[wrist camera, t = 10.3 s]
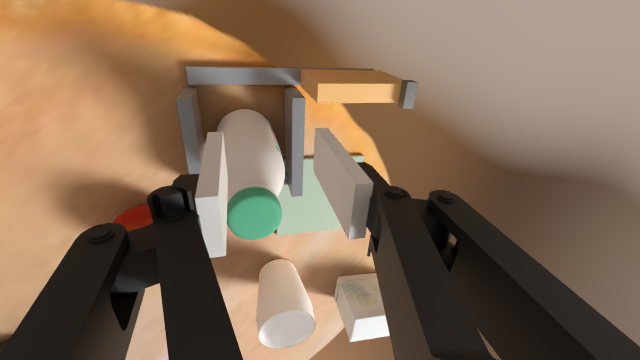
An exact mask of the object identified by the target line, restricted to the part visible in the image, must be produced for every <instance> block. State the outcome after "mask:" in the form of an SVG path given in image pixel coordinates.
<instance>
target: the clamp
mask: <svg viewBox="0 0 640 360" xmlns="http://www.w3.org/2000/svg"><path fill="white" fill-rule="evenodd" d="M301 69H317V70H374V69H350V68H349V69H348V68H289V67H288V68H287V67H232V66H186V73H187V80H188V85H300V83H301ZM176 104H177V110H178V115H179V121H180V127H181V132H182V138H183V143H184V149H185V155H186V160H187V166H188V171H189V174H200V169H201V164H202V159H203V154H204V149H205V144H204V137H203V130H202V123H201V116H200V109H199V102H198V95H197V88H196V87H183V89H182V90H181V92H180V93H179V95H178V96H177V98H176ZM304 124H305V97H304V96H303V95H302V94H301V93H300V91H299V90H298V89H297V88H296V87H285V160H286V170H285V179H284V184H283V185H288V187H289V190H290V193H291V196H292V197H298V196H302V194H303V159H304Z"/></svg>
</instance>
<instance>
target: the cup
mask: <svg viewBox="0 0 640 360" xmlns="http://www.w3.org/2000/svg"><path fill="white" fill-rule="evenodd" d="M256 322H257V327H258V334H259V339H260V341H261V342H262V343H263V344H264V345H265V346H267V347H270V348H276V349H281V348H288V347H292V346H295V345H297V344H299V343H301V342H303V341H304V340H306V339H307V338H308V337H309V336H310V335H311V334H312V333H313V331H314V329H315V319H314V314H313V308H312V304H311V301H310V299H309V297H308V295H307V292H306V290H305V288H304V286H303V284H302V282H301V279H300V277H299V275H298V273H297V271H296V268H295V266H294V265H293V263H291V262H290V261H288V260H284V259H277V260H273V261H270V262H268V263H267V264H265V265H264V266H263V267H262V269H261V270H260V274H259V286H258V299H257V311H256Z"/></svg>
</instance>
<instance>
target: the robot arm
mask: <svg viewBox="0 0 640 360" xmlns="http://www.w3.org/2000/svg"><path fill="white" fill-rule="evenodd" d="M313 172H314V173H315V175H316V177H317V179H318V181H319V183H320V185H321V187H322V189H323V191H324V193H325V195H326V197H327V199H328V201H329V203H330V205H331V207H332V208H333V210H334V212H335V214H336V216H337V218H338V220H339V222H340V224H341V226H342V228H343V230H344V232H345V234H346V236H347V238H348V240H350V239H357V238H365V234H366V227H367V228H368V229H369V231H370V232H371V236H370V241H369V247H368V254H367V256H370V253H371V252H372V256H373V261H374V265H375V270H376V274H377V279H378V284H379V288H380V293H381V297H382V302H383V307H384V311H385V316H386V320H387V325H388V330H389V334H390V339H391V344H392V348H393V353H394V357H395V360H496V359H494V358H493V357H492V356H491V354H490V353H489V351H488V349H487V347H486V345H485V344H484V341H483V340H482V337H481V336H480V333H479V331H480V332H481V333H482V335H483V336H484V337H485V339H486V340H487V341H488V343H489V344H490V345H491V347H492V348H493V349H494V350H495V352H496V353H497V355H498V356H499V357H500V358H501V360H640V347H639V346H638V345H637V344H636V343H635V342H633V341H632V340H631V339H629V337H627V336H626V335H625V334H624V333H622V332H621V331H620V330H619V329H618V328H616V327H615V326H614V325H613V324H612V323H610V322H609V321H608V320H607V319H606V318H605V317H603V316H602V315H601V314H600V313H598V312H597V311H596V310H595V309H594V308H592V307H591V306H590V305H589V304H588V303H586V302H585V301H584V300H583V299H582V298H580V297H579V296H578V295H577V294H576V293H574V292H573V291H572V290H571V289H569V288H568V287H567V286H566V285H565V284H564V283H562V282H561V281H560V280H559V279H558V278H556V277H555V276H554V275H553V274H552V273H550V272H549V271H548V270H547V269H546V268H544V267H543V266H542V265H541V264H540V263H538V262H537V261H536V260H535V259H533V258H532V257H531V256H530V255H529V254H527V253H526V252H525V251H524V250H522V249H521V248H520V247H519V246H518V245H516V244H515V243H514V242H513V241H511V239H509V238H508V237H507V236H506V235H505V234H503V233H502V232H501V231H500V230H499V229H497V228H496V227H495V226H494V225H493V224H491V223H490V222H489V221H488V220H487V219H485V218H484V217H483V216H482V215H481V214H479V213H478V212H477V211H476V210H475V209H473V208H472V207H471V206H470V205H468V204H467V203H466V202H465V201H463V200H462V199H461V198H460V197H459V196H457V195H455V194H453V193H451V192H449V191H445V190H435V191H432V192H431V193H429V197H428V200H422V199H413V198H411V196H410V194H409V193H408V192H407V191H405V190H404V189H402V188H399V187H394V186H390V185H389V184H388V183H387V182H386V181H385V180H384V179H383V178H382V177H381V176H380V174H379V173H378V172H376V170H375V169H374V168H373V167H372V166H371V165H369V164H367V163H365V162H356V161H355V160H354V159H353V158H352V156H351V155H350V154H349V153H348V152H347V150H346V149H345V148H344V147H343V146H342V144H341V143H340V142H339V141H338V140H337V138H336V137H335V136H334V135H333V134H332V132H331V131H330V130H329V129H328V128H315V143H314V164H313ZM227 193H228V174H227V164H226V155H225V146H224V137H223V132H208V134H207V139H206V144H205V149H204V154H203V159H202V164H201V169H200V174H186V175H180V176H179V177H178V178H176V179H175V180H174V181H173V184H172V185H171V186H165V187H162V188H159V189H157V190H155V191H153V192H152V193H150V194H149V195H148V198H147V201H148V205H149V208H150V212H151V216H152V220H153V223H151V224H149V225H147V226H145V227H142V228H139V229H135V230H131V231H128V232H127V230H126V228H125V227H124V226H123V225H121V224H118V223H106V224H100V225H97V226H94V227H92V228H89V229H88V230H86V231H84V232H83V233H81V234H80V235H79V236H78V237H77V238H76V240H75V241H74V243H73V244H72V246H71V247H70V249H69V250H68V252H67V253H66V255H65V256H64V258H63V259H62V261H61V262H60V264H59V265H58V267H57V268H56V270H55V271H54V273H53V274H52V276H51V278H50V279H49V281H48V282H47V284H46V285H45V287H44V288H43V290H42V291H41V293H40V294H39V296H38V297H37V299H36V300H35V302H34V303H33V305H32V306H31V308H30V309H29V311H28V312H27V314H26V315H25V317H24V318H23V320H22V322H21V323H20V325H19V326H18V328H17V329H16V331H15V332H14V334H13V335H12V337H11V338H10V340H7V341H4V342H2V343H0V360H125V358H126V354H127V351H128V348H129V344H130V341H131V337H132V334H133V330H134V327H135V323H136V320H137V316H138V313H139V310H140V306H141V303H142V299H143V296H144V292H145V288H147V287H150V286H153V285H155V284H158V283H160V287H161V296H162V305H163V313H164V322H165V330H166V339H167V348H168V356H169V360H243V358H242V355H241V352H240V349H239V346H238V343H237V339H236V336H235V333H234V330H233V327H232V324H231V321H230V318H229V315H228V312H227V309H226V306H225V303H224V300H223V297H222V293H221V290H220V287H219V284H218V281H217V278H216V275H215V272H214V269H213V266H212V263H211V260H210V258H214V257H221V256H226V237H227ZM452 235H453V236H455V238H456V239H457V242H456V244H455V246H454V245H453V244H452V243H451V242H450V240H451V237H452ZM477 328H478V329H477ZM478 330H479V331H478Z"/></svg>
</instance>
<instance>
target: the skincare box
mask: <svg viewBox="0 0 640 360" xmlns="http://www.w3.org/2000/svg"><path fill="white" fill-rule="evenodd" d="M334 299H335V301H336V304H337V306H338V309H339V312H340V315H341V318H342V321H343V323H344V326H345V329H346V332H347V335H348V338H349V341H350V342H353V341H359V340H365V339H371V338H377V337H384V336H390V334H389V330H388V325H387V320H386V316H385V311H384V307H383V302H382V297H381V293H380V288H379V284H378V279H377V274H376V273H369V274H359V275H348V276H339V277H338V279H337V284H336V289H335V293H334Z"/></svg>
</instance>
